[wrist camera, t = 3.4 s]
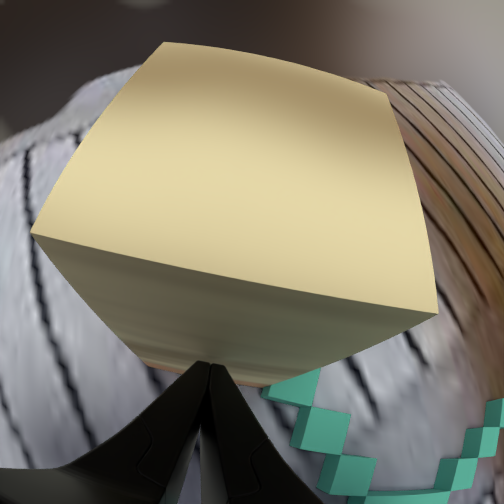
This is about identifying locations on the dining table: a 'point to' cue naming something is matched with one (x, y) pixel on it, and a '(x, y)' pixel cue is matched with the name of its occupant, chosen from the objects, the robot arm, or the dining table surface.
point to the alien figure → (362, 468)
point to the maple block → (242, 217)
